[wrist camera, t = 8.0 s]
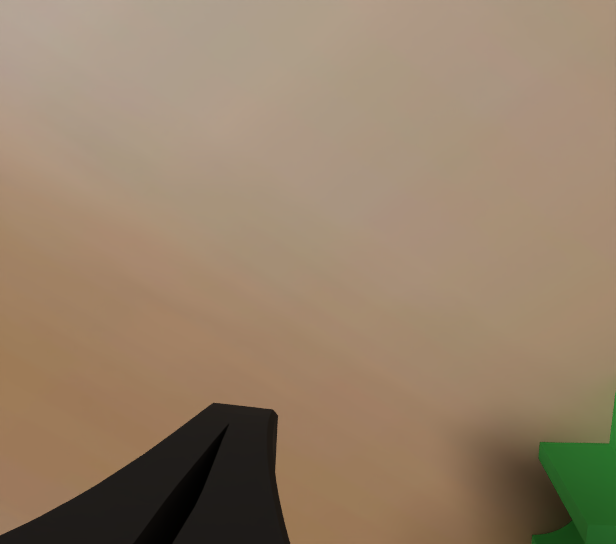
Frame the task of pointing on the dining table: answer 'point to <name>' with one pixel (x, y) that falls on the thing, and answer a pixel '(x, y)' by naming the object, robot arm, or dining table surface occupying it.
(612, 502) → the pipe clamp
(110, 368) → the dining table surface
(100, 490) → the robot arm
